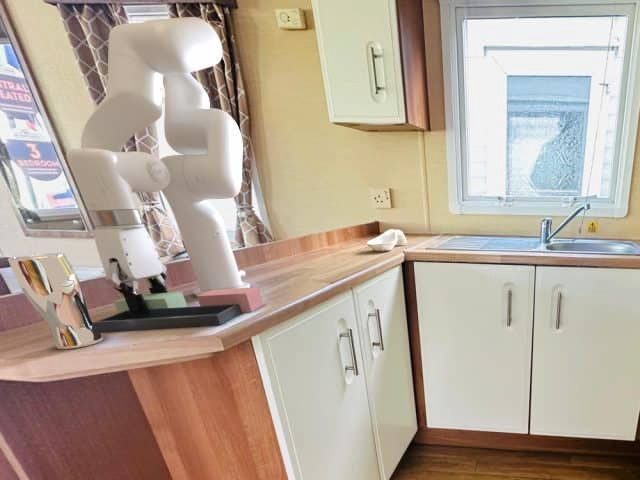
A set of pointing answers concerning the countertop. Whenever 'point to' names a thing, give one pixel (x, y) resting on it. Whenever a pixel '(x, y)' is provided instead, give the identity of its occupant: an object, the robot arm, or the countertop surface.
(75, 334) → the chrome vase
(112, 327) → the frame
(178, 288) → the countertop surface
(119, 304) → the pad sage
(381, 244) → the spoon rest
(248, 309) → the pad rose
